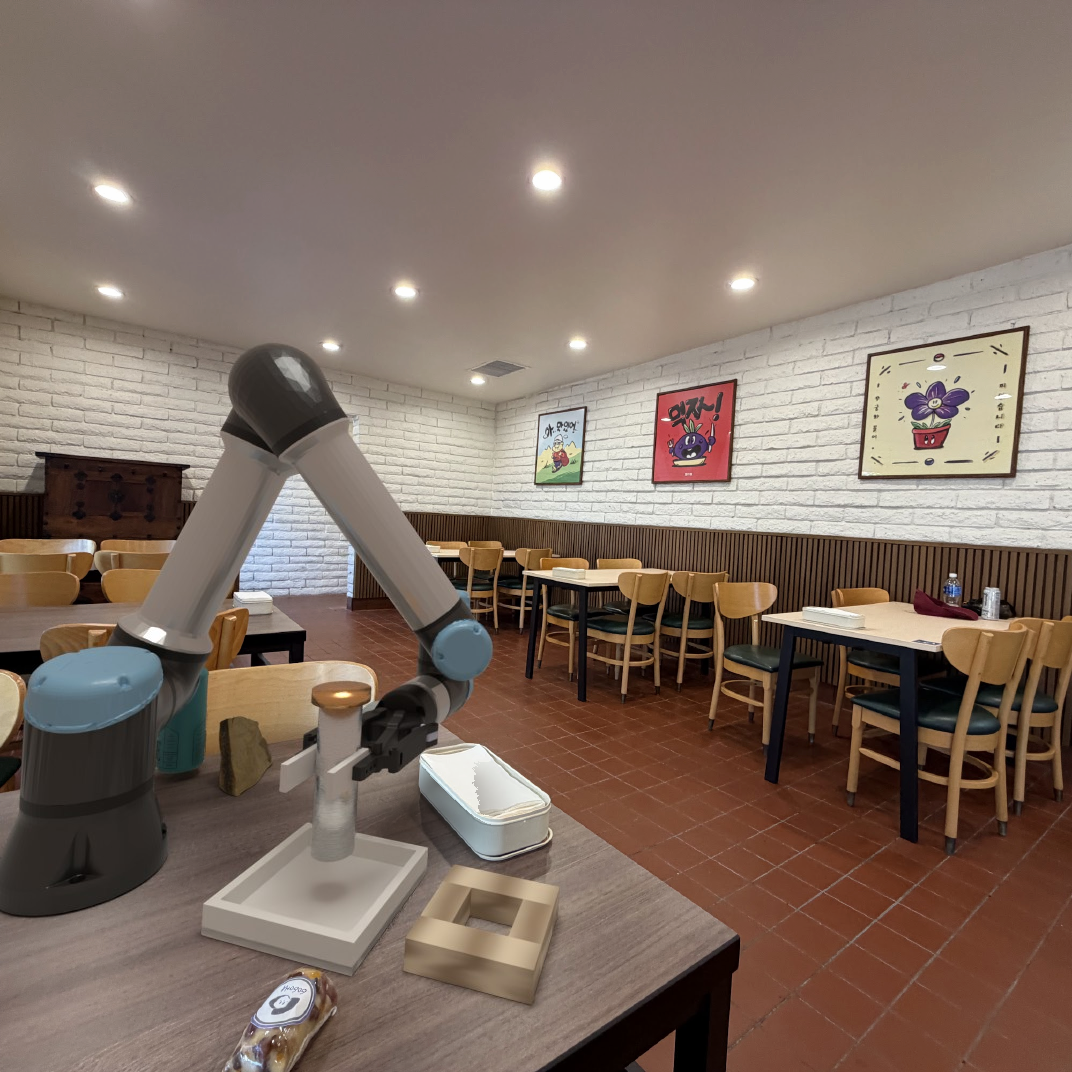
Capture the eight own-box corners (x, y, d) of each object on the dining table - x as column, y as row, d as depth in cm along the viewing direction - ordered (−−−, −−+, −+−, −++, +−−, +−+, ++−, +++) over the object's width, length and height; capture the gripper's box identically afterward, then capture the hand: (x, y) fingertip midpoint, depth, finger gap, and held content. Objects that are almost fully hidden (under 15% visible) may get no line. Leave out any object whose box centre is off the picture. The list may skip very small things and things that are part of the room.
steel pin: (289, 860, 58) (299, 692, 57) (324, 830, 64) (333, 678, 63) (342, 871, 56) (352, 700, 56) (373, 840, 62) (381, 684, 62)
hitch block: (403, 970, 51) (405, 938, 51) (452, 891, 63) (454, 864, 63) (531, 1005, 49) (533, 970, 48) (557, 914, 60) (559, 887, 60)
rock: (258, 742, 94) (196, 750, 86) (284, 707, 92) (224, 713, 84) (281, 799, 89) (218, 814, 81) (309, 763, 87) (248, 775, 79)
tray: (201, 935, 54) (203, 903, 54) (305, 846, 69) (307, 822, 69) (351, 976, 50) (353, 943, 50) (426, 873, 66) (428, 847, 66)
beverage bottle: (212, 773, 87) (221, 644, 87) (165, 788, 81) (174, 650, 81) (190, 761, 90) (199, 637, 90) (144, 775, 85) (153, 642, 85)
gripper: (471, 747, 75) (386, 837, 53) (353, 728, 79) (227, 805, 57) (474, 691, 75) (390, 757, 53) (356, 675, 79) (231, 731, 56)
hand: (306, 782), depth 55 cm, fingers closed on steel pin, 4 cm apart
